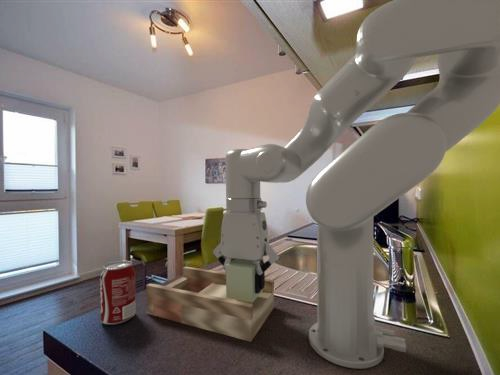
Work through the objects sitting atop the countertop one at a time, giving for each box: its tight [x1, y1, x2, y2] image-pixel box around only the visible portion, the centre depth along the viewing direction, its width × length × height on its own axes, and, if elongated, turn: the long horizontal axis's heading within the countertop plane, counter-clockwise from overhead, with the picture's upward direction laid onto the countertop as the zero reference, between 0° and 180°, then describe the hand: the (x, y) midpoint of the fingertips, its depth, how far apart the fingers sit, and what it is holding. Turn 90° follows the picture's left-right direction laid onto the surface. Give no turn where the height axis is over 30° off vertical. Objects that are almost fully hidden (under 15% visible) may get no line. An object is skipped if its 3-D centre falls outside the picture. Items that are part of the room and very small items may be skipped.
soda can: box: [99, 260, 137, 326], centre depth 54 cm, size 7×7×12 cm
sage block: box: [225, 259, 263, 302], centre depth 54 cm, size 6×6×7 cm
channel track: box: [145, 266, 275, 343], centre depth 57 cm, size 26×14×6 cm, turn 66°
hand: (245, 287), depth 54 cm, fingers closed on sage block, 6 cm apart
